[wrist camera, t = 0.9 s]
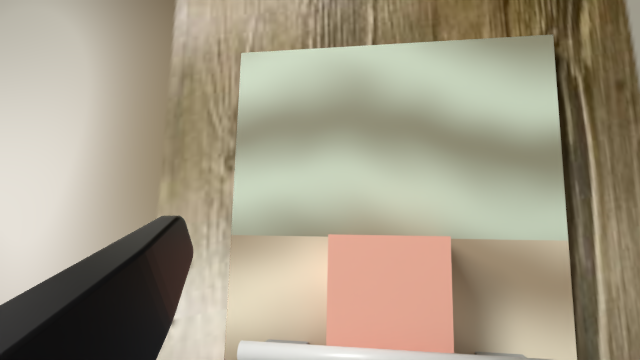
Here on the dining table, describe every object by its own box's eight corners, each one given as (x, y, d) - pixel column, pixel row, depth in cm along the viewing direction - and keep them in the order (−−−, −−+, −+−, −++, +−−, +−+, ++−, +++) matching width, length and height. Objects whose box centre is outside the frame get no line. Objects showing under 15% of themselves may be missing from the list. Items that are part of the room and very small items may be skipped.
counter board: (583, 578, 18) (594, 597, 17) (222, 527, 20) (213, 541, 19) (545, 44, 22) (552, 34, 21) (247, 61, 24) (241, 53, 23)
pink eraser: (448, 471, 18) (458, 512, 15) (333, 458, 19) (323, 496, 16) (442, 238, 20) (450, 236, 17) (337, 236, 21) (328, 234, 18)
